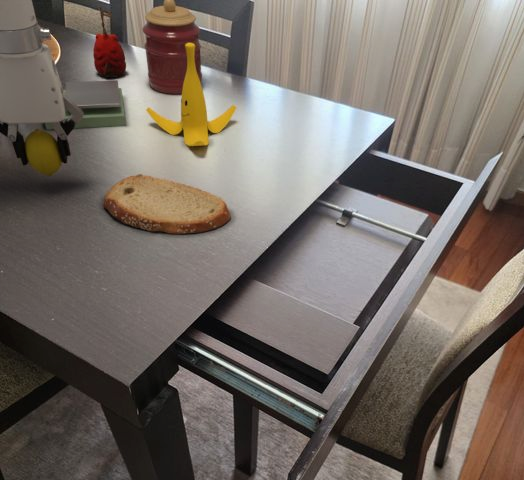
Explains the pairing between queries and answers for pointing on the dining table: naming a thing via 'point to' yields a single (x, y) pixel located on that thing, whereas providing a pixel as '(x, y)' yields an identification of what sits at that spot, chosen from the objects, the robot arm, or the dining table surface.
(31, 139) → the lemon
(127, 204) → the bread slice
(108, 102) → the scale pan
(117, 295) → the dining table surface
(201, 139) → the banana peel
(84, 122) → the scale
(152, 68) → the kitchen canister
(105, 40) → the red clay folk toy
